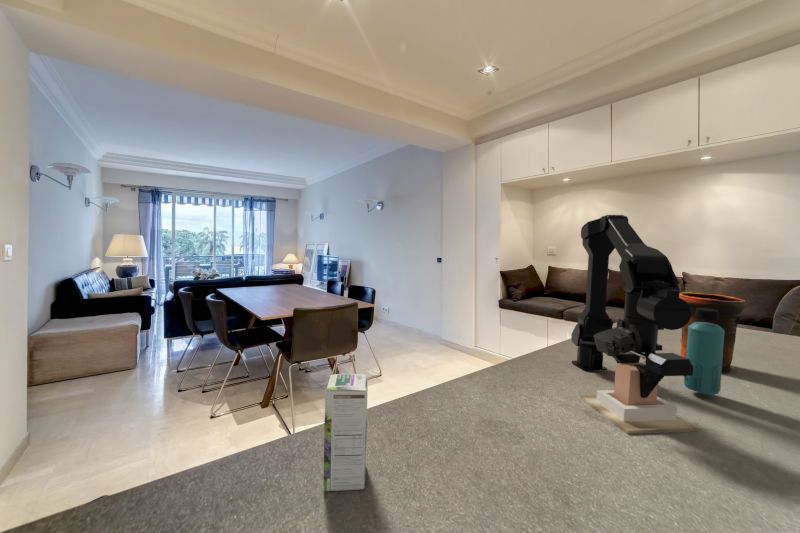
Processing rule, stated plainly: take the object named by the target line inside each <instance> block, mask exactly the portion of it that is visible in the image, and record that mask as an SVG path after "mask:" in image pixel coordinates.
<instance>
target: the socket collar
mask: <svg viewBox="0 0 800 533" xmlns="http://www.w3.org/2000/svg"><path fill="white" fill-rule="evenodd" d="M596 395H597V398H596V402H597V403H599V404H600V405H601V406H603V407H604V408H606V409H607V410H608V411H610V412H611V413H612V414H614V415H615V416H617V417H618V418H619V419H621V420H622V421H623V422H627V421H656V420H676V415H677V414H678V412H677V411H678V407H677V406H675V405H673V404H672V403H670V402H668V401H666V400H664V399H663V398H661V397H659V396H657V403H656V405H635V406H625V405H624V404H622V403H621V402H619V401H618V400H616V399H615V398H614V389H603V390H601V389H600V390H596Z"/></svg>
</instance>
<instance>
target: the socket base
mask: <svg viewBox="0 0 800 533" xmlns="http://www.w3.org/2000/svg"><path fill="white" fill-rule="evenodd" d="M596 398H597V394H594V395H593V394H591V395H590V394H589V395H585V394H584V395H580V399H581V400H582V401H583V402H585V403H586V404H587V405H589V406H590V407H591V408H592V409H594V410H595V411H596V412H598V413H599V414H600V415H602V416H603V417H605V418H606V419H607V420H608V421H610V423H612V424H614V425H615V426H616V427H618V428H619V429H621V430H622V431H623V432H624V433H626V434H627V435H629V434H632V435H633V434H654V433H655V434H657V433H677V432H678V433H683V432H685V433H687V432H699V427H697V426H696V425H694V424H692V423H691V422H689V421H687V420H686V419H683V418H682V417H680V416H678V415H677V414H676V420H656V421H627V422H623V421H622V420H621V419H619V418H618V417H617V416H615V415H614V414H612V413H611V412H610V411H608V410H607V409H606V408H604V407H603V406H601V405H600V404H599V403H597V402H596Z"/></svg>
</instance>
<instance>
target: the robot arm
mask: <svg viewBox="0 0 800 533" xmlns="http://www.w3.org/2000/svg"><path fill="white" fill-rule="evenodd" d="M580 237H581V240H582V246H583V248H584V249H585V251H586V253H587V254H588V261H587V275H586V276H587V278H586V295H585V308H584V309H583V310H582V312H581V313H580V314H579V315H578V318H577V324H575V327H574V328H573V331H572V332H571V342H572V343H573V344H574V345H575V347H577V355H576V356H577V357H576V360H571V363H572V364H573V365H575V367H578V368H579V369H581V370H583V371H585V372H591V371H592V372H593V371H596V372H599V371H600V372H601V371H608V368H607V367H605V366H604V354H605V355H606V356H608V357H612V358H613V359H614V360H615V362H616V363H640V360H641V358H642V359H643V360H644V361H643V363H644V364H636V365H635V367H636V368H637V369H638V370H639V371H640V395H641V397H642V398H647V397H648V396H649V394H650V393H651V392H652V391H653V389H654V388H655V387H656V385H657V384H658V385H659V383H660V382H661V381H662V380H663V379H664V378H665V377H681V376H682V377H684V376H693V367H694V364H693V363H692V362H691V361H690V359H687V358H685V357H682V356H681V355H680V354H677V353H673V352H659V351H663V345H662V344H661V343H660V344H659V343H658V338H659V337H658V335H659V331H664V329H665V330H668V331H675V330H679V329H681V328H682V327H684V326H685V325H686V324H687V323H688V322H689V320H690V318H691V310H690V307H689V305H688V304H687V303H686V302H685V301H684V300H683V299H681V298H679V294H680V286H679V284H680V282H679V279H678V278H677V276H676V273H675V272H674V270H673V266H672V264H671V262H670V260H669V257H667V256H666V254H664V253H663V252H661V250H659V249H657V248H655V247H654V248H653V247H652V246H648V245H646V243H645V242H644V241H643V240H642V239H641V237H640V235H639V234H638V233H637V232H636V230H635V229H634V228H633V227H632V225H631V224H630V222H629V218H628V216H626V215H625V214H624V215H623V214H605V215H602V216H601V217H600V218H597V219H593V220H589V221H587V222H586V223H585V224H583V225H582V227H581V229H580ZM614 250H615V251H616V252H617V253H618V255H619V256H620V258H621V260H620V263H619V265H618V268H619V272H620V275H621V277H622V279H623V281H624V283H625V285H624V286H623V288H622V290H623V291H624V292H625V295H624V296H625V297H624V299H625V300H624V311H623V312H624V313H623V318H618V321H617V322H616V327H614V328H613V325H614V321H613V320H612V318H610V316H609V314H608V313H607V311H606V309H607V308H606V307H607V306H606V305H607V292H608V274H609V263H610V262H609V260H610V255H611V254H612V253H613V251H614ZM656 351H658V352H656Z"/></svg>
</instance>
